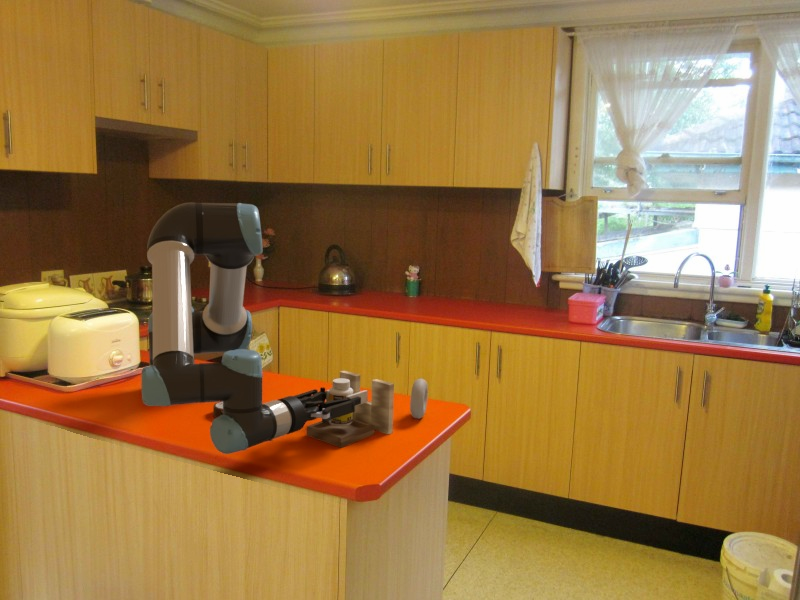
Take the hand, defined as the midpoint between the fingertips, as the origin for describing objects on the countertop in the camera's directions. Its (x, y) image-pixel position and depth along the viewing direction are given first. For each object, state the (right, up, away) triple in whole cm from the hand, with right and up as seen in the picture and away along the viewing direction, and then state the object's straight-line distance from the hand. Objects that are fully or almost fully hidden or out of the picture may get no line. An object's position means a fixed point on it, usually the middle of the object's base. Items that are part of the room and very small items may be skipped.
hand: (356, 393), depth 154 cm
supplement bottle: (-3, -7, -3) cm, 8 cm away
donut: (+15, -8, +11) cm, 20 cm away
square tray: (-4, -9, -2) cm, 10 cm away
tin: (-32, -6, +4) cm, 32 cm away
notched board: (+2, -8, +4) cm, 10 cm away
